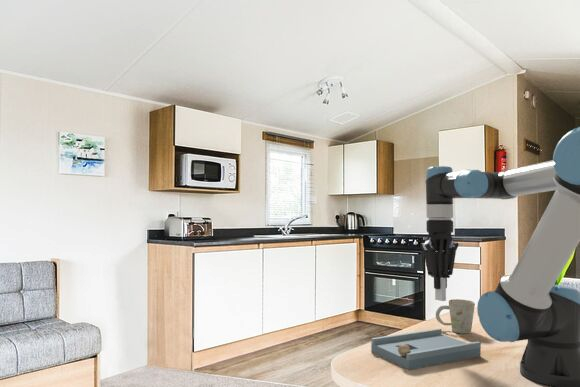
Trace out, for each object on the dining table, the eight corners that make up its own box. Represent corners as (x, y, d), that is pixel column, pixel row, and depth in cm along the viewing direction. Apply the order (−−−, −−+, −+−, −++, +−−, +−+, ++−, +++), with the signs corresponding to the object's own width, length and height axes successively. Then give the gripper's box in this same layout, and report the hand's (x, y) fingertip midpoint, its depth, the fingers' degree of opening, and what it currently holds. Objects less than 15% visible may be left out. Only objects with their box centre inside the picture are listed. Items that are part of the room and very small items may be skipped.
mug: (476, 335, 155) (476, 305, 155) (436, 333, 157) (437, 302, 157) (472, 329, 163) (472, 300, 163) (434, 326, 165) (434, 298, 166)
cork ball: (413, 357, 124) (413, 345, 124) (403, 359, 123) (403, 346, 123) (404, 353, 127) (405, 341, 127) (395, 355, 125) (395, 343, 125)
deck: (480, 356, 133) (480, 342, 133) (408, 370, 122) (409, 354, 122) (439, 341, 148) (439, 328, 148) (371, 352, 136) (371, 338, 136)
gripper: (446, 219, 145) (447, 296, 144) (413, 219, 139) (414, 299, 138) (465, 219, 139) (466, 300, 137) (432, 219, 133) (433, 304, 131)
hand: (440, 300), depth 138 cm, fingers closed
